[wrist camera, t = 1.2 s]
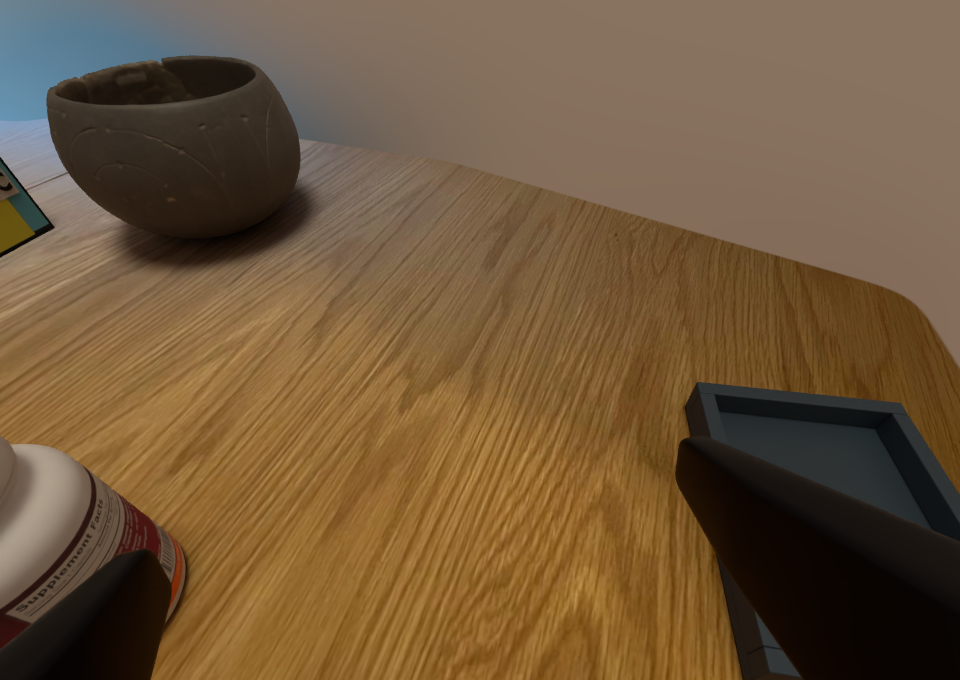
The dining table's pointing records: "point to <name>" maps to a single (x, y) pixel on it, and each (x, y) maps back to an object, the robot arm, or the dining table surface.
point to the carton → (18, 213)
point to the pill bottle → (64, 533)
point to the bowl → (178, 143)
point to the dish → (823, 474)
